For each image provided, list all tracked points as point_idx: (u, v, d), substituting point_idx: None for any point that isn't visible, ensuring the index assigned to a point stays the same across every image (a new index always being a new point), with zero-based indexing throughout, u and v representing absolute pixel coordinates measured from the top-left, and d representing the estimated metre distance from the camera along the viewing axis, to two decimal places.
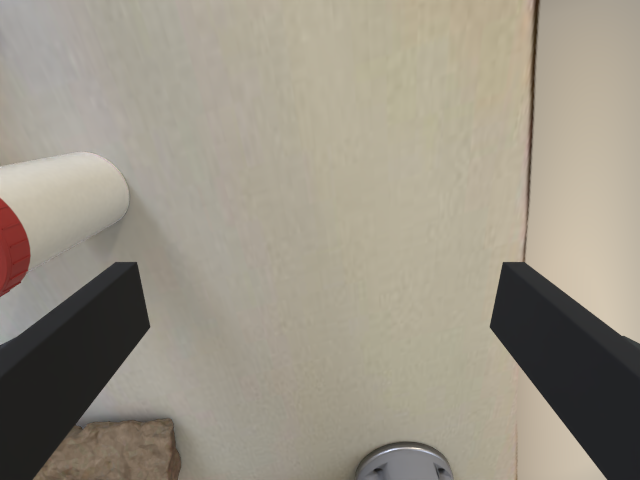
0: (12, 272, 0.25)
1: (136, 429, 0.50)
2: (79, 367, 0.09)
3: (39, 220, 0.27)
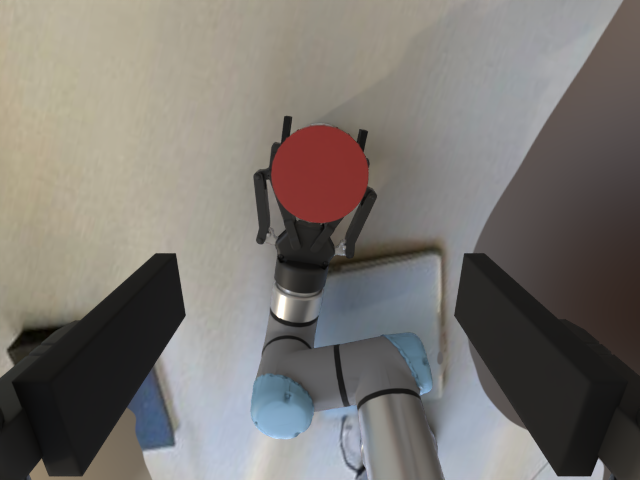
0: (292, 134, 0.34)
1: None
2: (133, 348, 0.10)
3: None
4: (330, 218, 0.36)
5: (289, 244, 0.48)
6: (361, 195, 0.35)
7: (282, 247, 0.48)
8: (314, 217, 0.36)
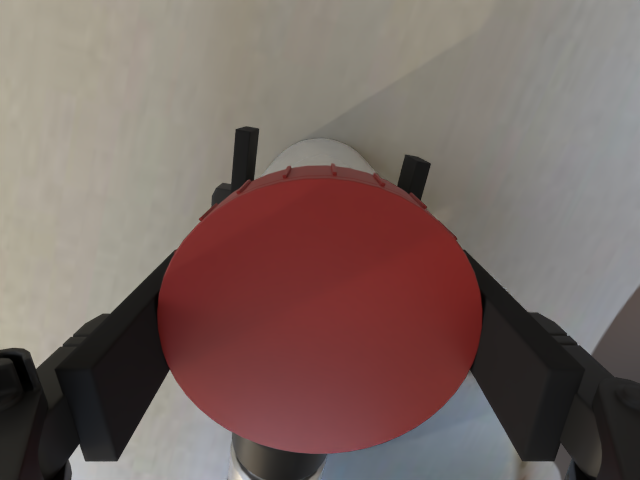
0: (221, 204, 0.09)
1: None
2: (159, 340, 0.10)
3: None
4: (351, 443, 0.12)
5: None
6: (451, 388, 0.11)
7: None
8: (303, 442, 0.12)
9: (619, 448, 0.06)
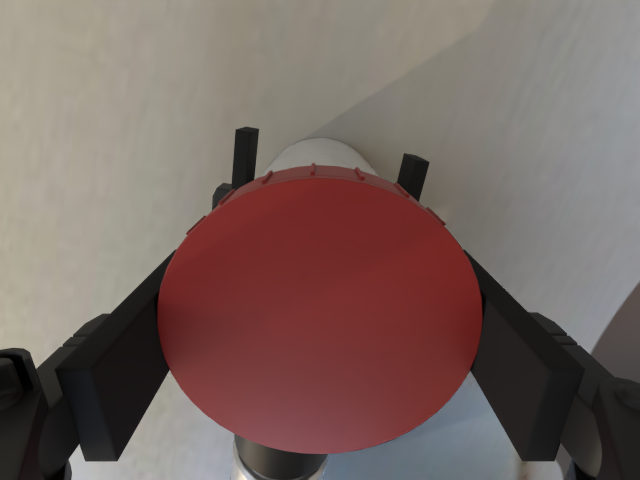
0: None
1: None
2: (159, 340, 0.10)
3: None
4: (445, 248, 0.09)
5: None
6: (312, 186, 0.09)
7: None
8: (461, 299, 0.10)
9: (619, 448, 0.06)
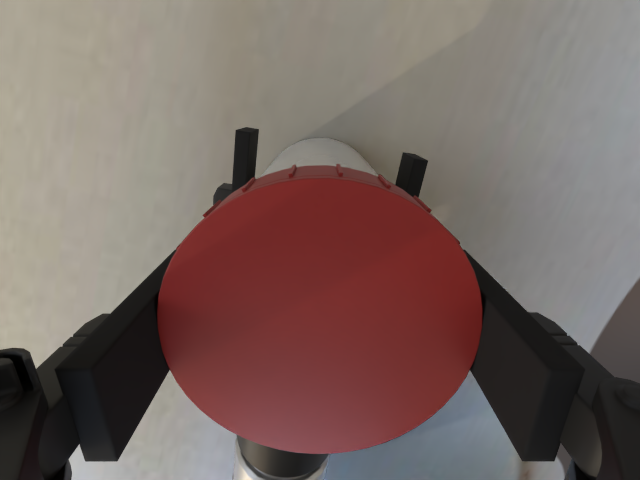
0: None
1: None
2: (159, 340, 0.10)
3: None
4: (173, 286, 0.10)
5: None
6: (194, 396, 0.11)
7: None
8: (207, 245, 0.09)
9: (619, 448, 0.06)
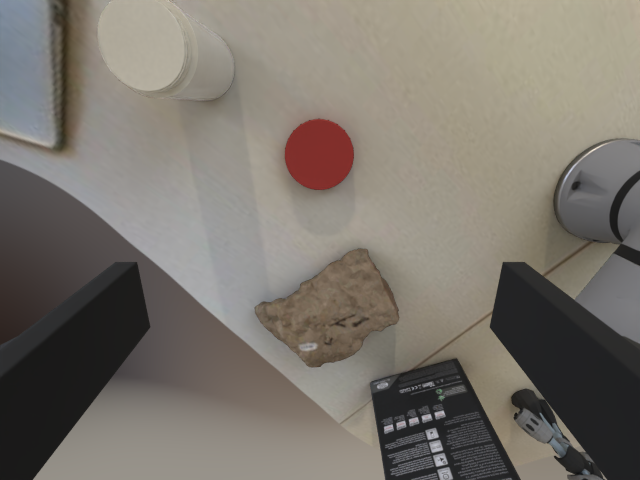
0: (305, 122, 0.48)
1: (339, 264, 0.54)
2: (79, 367, 0.09)
3: (187, 15, 0.33)
4: (321, 187, 0.50)
5: None
6: (345, 174, 0.50)
7: None
8: (310, 184, 0.50)
9: None
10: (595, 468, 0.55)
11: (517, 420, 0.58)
